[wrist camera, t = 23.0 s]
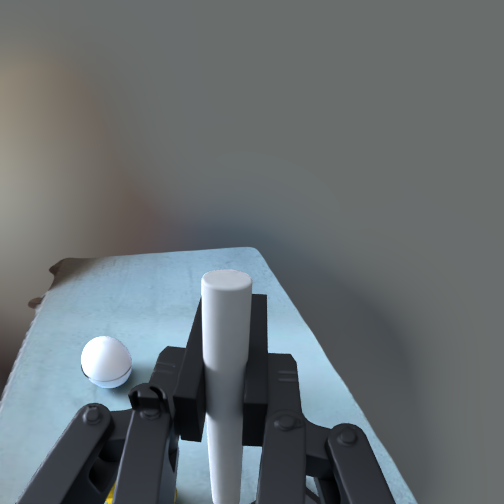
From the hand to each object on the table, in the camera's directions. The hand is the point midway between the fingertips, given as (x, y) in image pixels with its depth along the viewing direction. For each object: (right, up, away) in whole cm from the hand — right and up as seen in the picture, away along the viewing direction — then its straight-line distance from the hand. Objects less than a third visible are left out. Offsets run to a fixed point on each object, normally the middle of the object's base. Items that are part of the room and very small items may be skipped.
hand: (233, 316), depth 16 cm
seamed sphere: (-19, -16, +24) cm, 35 cm away
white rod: (-1, -12, -1) cm, 12 cm away
